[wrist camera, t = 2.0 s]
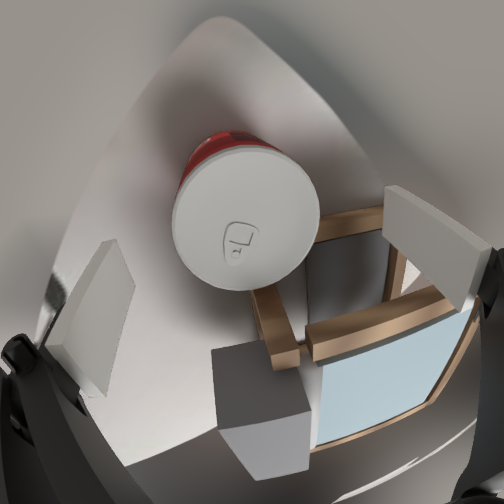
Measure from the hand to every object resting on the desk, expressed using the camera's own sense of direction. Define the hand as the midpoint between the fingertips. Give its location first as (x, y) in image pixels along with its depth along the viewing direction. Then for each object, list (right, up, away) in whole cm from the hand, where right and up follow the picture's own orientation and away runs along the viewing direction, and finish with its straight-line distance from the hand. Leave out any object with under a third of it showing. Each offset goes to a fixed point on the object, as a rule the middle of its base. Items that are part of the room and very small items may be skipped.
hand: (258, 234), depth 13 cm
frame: (+9, -5, +19) cm, 21 cm away
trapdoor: (+7, -11, +9) cm, 16 cm away
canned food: (-2, +6, +11) cm, 13 cm away
